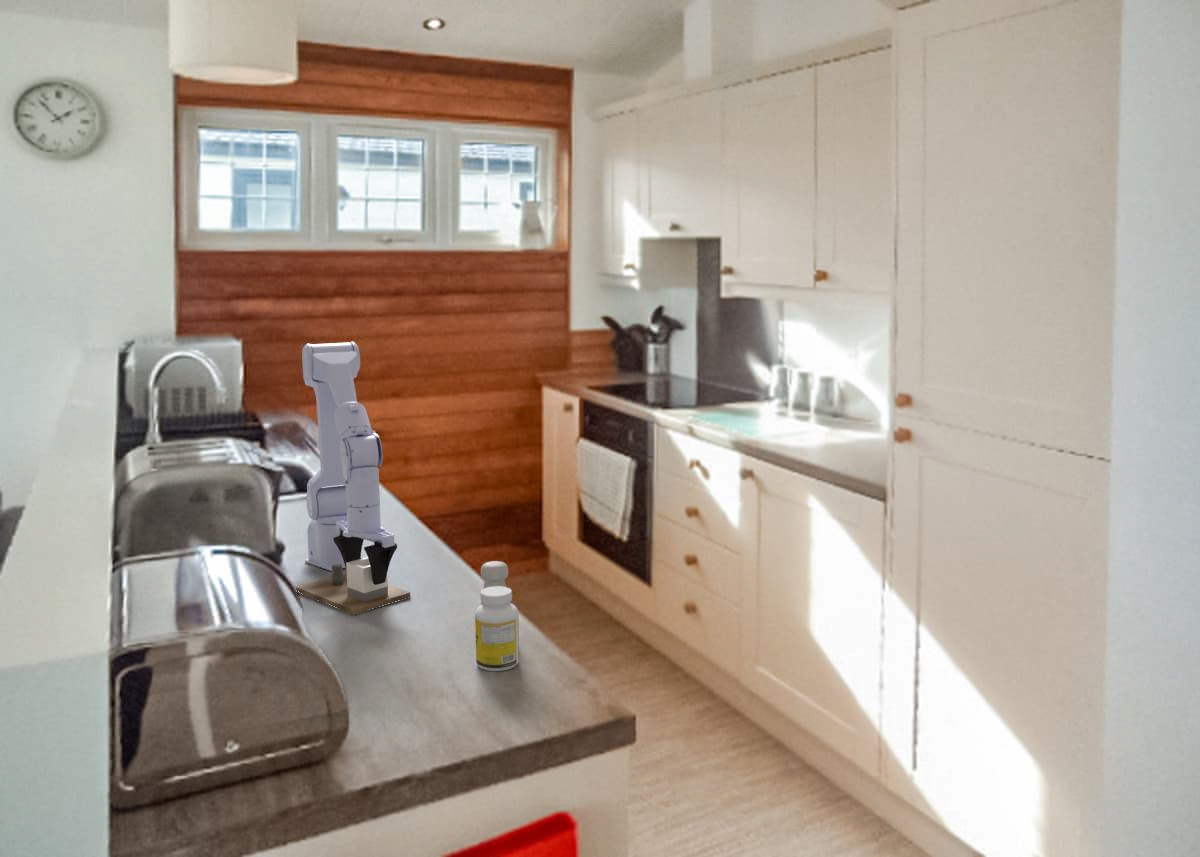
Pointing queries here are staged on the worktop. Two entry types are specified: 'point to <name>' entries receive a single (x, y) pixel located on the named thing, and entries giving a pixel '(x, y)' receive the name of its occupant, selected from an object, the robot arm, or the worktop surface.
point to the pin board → (346, 593)
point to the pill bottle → (497, 630)
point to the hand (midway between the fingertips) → (366, 578)
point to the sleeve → (363, 581)
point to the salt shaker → (494, 574)
